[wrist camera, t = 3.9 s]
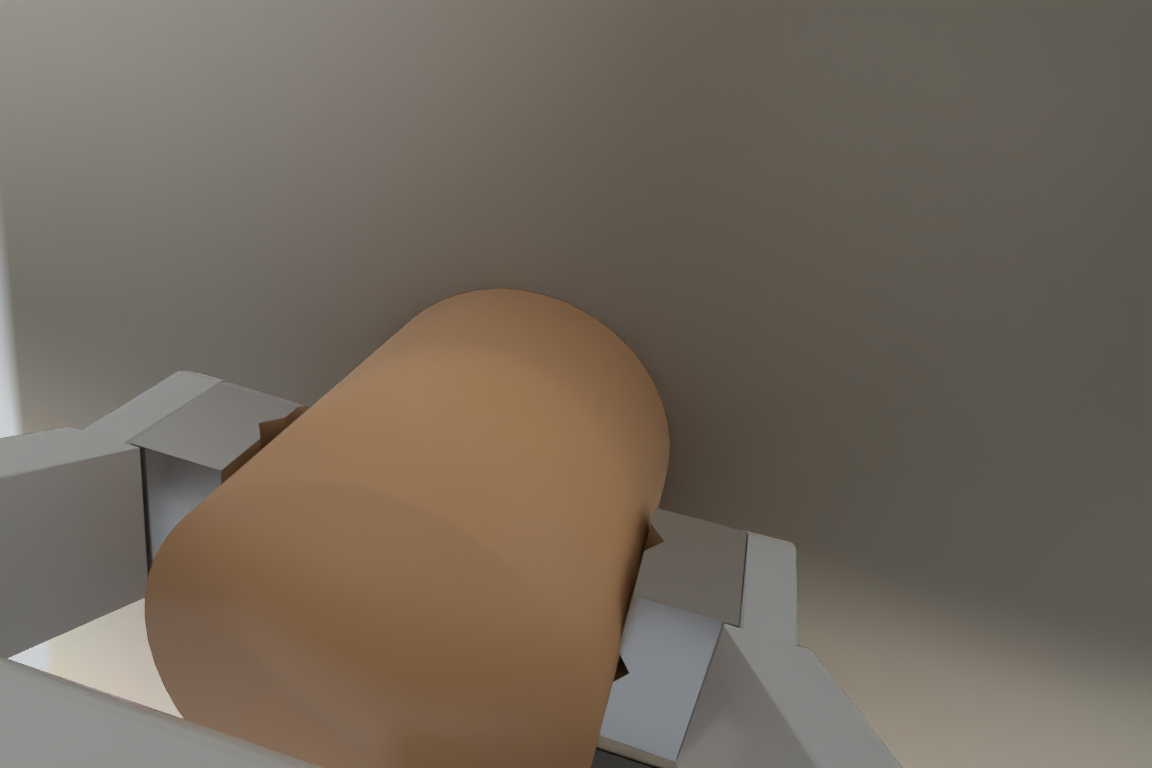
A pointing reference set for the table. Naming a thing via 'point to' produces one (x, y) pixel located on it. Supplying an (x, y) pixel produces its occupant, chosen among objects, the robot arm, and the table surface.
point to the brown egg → (426, 550)
